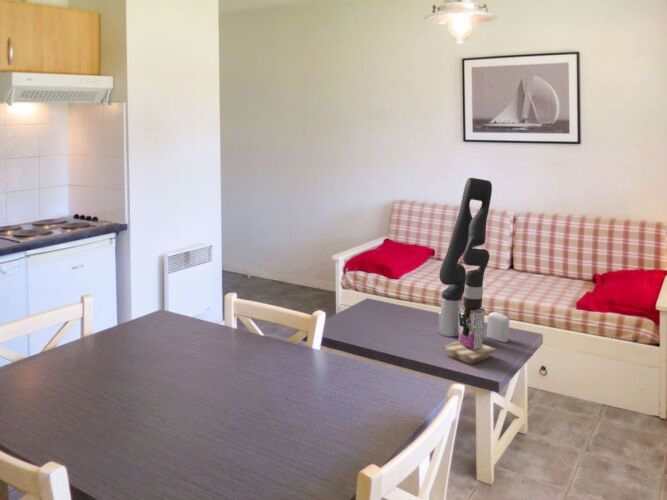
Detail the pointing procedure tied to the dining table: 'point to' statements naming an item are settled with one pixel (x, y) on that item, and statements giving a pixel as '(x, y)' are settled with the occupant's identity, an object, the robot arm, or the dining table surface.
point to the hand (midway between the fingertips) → (470, 334)
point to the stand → (468, 352)
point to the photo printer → (498, 327)
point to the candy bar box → (472, 329)
